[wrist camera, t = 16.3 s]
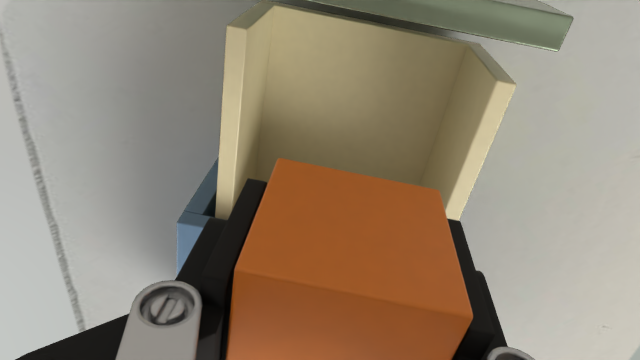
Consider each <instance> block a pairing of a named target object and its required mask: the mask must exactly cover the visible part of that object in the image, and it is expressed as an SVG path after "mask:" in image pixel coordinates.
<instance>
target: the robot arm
mask: <svg viewBox="0 0 640 360" xmlns="http://www.w3.org/2000/svg"><path fill="white" fill-rule="evenodd" d="M266 187H267V182H265V181H260V180H255V179H250V178H248V179H247V181H246V183H245V185H244V187H243V189H242V191H241V193H240V195H239V197H238V199H237V202H236V204H235V206H234V208H233V210H232V212H231V214H230V216H229V218H228V220H223V219H218V218H213V217H211V218H209V219H208V221H207V222H206V224H205V226H204V228H203V230H202V231H201V233H200V235H199V237H198V239H197V241H196V242H195V244H194V246H193V248H192V250H191V252H190V253H189V255H188V257H187V259H186V261H185V263H184V264H183V266H182V268H181V270H180V272H179V274H178V275H177V277H176V279H175V280H169V281H161V282H158V283H154V284H152V285H150V286H148V287H146V288H144V289H143V290H142V291H141V292H140V293H139V294H138V295H137V296H136V298H135V300H134V302H133V303H132V307H131V310H130V313H129V314H127V315H124V316H122V317H119V318H117V319H114V320H112V321H109V322H106V323H104V324H101V325H99V326H96V327H94V328H91V329H89V330H86V331H83V332H81V333H78V334H76V335H74V336H71V337H68V338H66V339H63V340H60V341H58V342H56V343H53V344H50V345H48V346H45V347H43V348H40V349H38V350H35V351H32V352H30V353H27V354H26V355H23V356H21V357H20V358H18V359H16V360H225V359H226V349H227V338H228V328H229V318H230V308H231V298H232V288H233V277H234V269H235V266H236V264H237V261H238V258H239V256H240V253H241V251H242V248H243V246H244V243H245V241H246V238H247V235H248V233H249V230H250V228H251V225H252V223H253V220H254V218H255V215H256V212H257V210H258V207H259V205H260V202H261V200H262V197H263V195H264V192H265V189H266ZM447 220H448V224H449V227H450V231H451V235H452V238H453V242H454V246H455V249H456V253H457V257H458V261H459V264H460V268H461V272H462V275H463V279H464V283H465V287H466V290H467V294H468V298H469V301H470V305H471V309H472V313H473V319H472V321H471V323H470V325H469V327H468V329H467V331H466V333H465V335H464V337H463V339H462V341H461V342H460V344H459V346H458V348H457V350H456V352H455V354H454V356H453V358H452V360H535V359H534V358H532V357H531V356H530V355H528V354H526V353H524V352H522V351H520V350H518V349H515V348H511V347H508V346H507V343H506V340H505V337H504V334H503V331H502V328H501V325H500V322H499V319H498V316H497V313H496V310H495V307H494V304H493V301H492V298H491V295H490V292H489V289H488V286H487V283H486V280H485V277H484V275H483V273H482V272H480V271H476V270H475V267H474V264H473V260H472V257H471V254H470V251H469V247H468V244H467V241H466V238H465V235H464V231H463V228H462V225H461V222H460V221H458V220H453V219H448V218H447Z"/></svg>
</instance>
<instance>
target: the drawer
mask: <svg viewBox="0 0 640 360" xmlns="http://www.w3.org/2000/svg"><path fill="white" fill-rule="evenodd" d="M305 1H310V2H315V3H320V4H325V5H330V6H335V7H340V8H344V9H349V10H354V11H359V12H364V13H369V14H374V15H379V16H384V17H389V18H393V19H398V20H403V21H408V22H413V23H418V24H423V25H428V26H433V27H438V28H442V29H447V30H452V31H457V32H462V33H467V34H472V35H477V36H482V37H487V38H491V39H496V40H501V41H506V42H511V43H516V44H521V45H526V46H531V47H536V48H540V49H545V50H550V51H555V52H557V51H559V49H560V47H561V45H562V43H563V40H564V38H565V36H566V34H567V32H568V30H569V27H570V25H571V23H572V21H573V17H572V16H570V15H568V14H566V13H564V12H562V11H560V10H557V9H555V8H553V7H551V6H549V5H547V4H544V3H542V2H540V1H538V0H305ZM515 88H516V83H515V82H514V81H513V80H512V79H511V77H510V76H509V75H508V74H507V73H506V72H505V71H504V70H503V69H502V68H501V67H500V65H499V64H498V63H497V62H496V61H495V60H494V59H493V58H492V57H491V56H490V54H489V53H488V52H487V51H486V50H485V49H484V48H483V47H482V46H481V45H480V44H479V43H474V42H469V41H464V40H459V39H454V38H449V37H444V36H439V35H434V34H430V33H425V32H420V31H415V30H410V29H405V28H400V27H395V26H390V25H385V24H381V23H376V22H371V21H366V20H361V19H356V18H351V17H346V16H341V15H336V14H332V13H327V12H322V11H317V10H312V9H307V8H302V7H297V6H292V5H287V4H282V3H278V2H273V1H268V0H262V1H260V2H258V3H257V4H256V5H254V6H253V7H251V8H250V9H249V10H247V11H246V12H245V13H243V14H242V15H240V16H239V17H238V18H236V19H235V20H233V21H232V22H231V23H229V24H228V25H227V27H226V44H225V60H224V77H223V94H222V111H221V127H220V144H219V161H218V178H217V194H216V211H215V218H219V219H224V220H228V218H229V216H230V214H231V212H232V210H233V208H234V206H235V204H236V202H237V199H238V197H239V195H240V193H241V191H242V189H243V187H244V185H245V183H246V181H247V179H248V178H250V179H255V180H260V181H265V182H267V184H268V182H269V179H270V177H271V174H272V172H273V169H274V166H275V164H276V161H277V160H278V158H283V159H288V160H293V161H298V162H303V163H308V164H313V165H318V166H323V167H328V168H333V169H337V170H342V171H347V172H352V173H357V174H362V175H367V176H372V177H377V178H382V179H387V180H392V181H397V182H402V183H407V184H412V185H417V186H422V187H426V188H431V189H436V190H439V191H440V194H441V198H442V201H443V205H444V209H445V212H446V216H447V218H448V219H453V220H458V221H459V219H460V217H461V214H462V212H463V209H464V207H465V205H466V202H467V200H468V198H469V195H470V193H471V191H472V188H473V186H474V184H475V181H476V179H477V177H478V174H479V172H480V170H481V167H482V165H483V163H484V160H485V158H486V156H487V153H488V151H489V149H490V146H491V144H492V142H493V139H494V137H495V134H496V132H497V130H498V127H499V125H500V123H501V120H502V118H503V116H504V113H505V111H506V109H507V106H508V104H509V102H510V99H511V97H512V95H513V92H514V90H515Z"/></svg>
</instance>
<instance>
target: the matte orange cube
mask: <svg viewBox="0 0 640 360" xmlns="http://www.w3.org/2000/svg"><path fill="white" fill-rule="evenodd" d="M472 319H473V313H472V309H471V305H470V301H469V298H468V294H467V290H466V287H465V283H464V279H463V275H462V272H461V268H460V264H459V261H458V257H457V253H456V249H455V246H454V242H453V238H452V235H451V231H450V227H449V224H448V220H447V216H446V212H445V209H444V205H443V201H442V198H441V194H440V191H439V190H436V189H431V188H426V187H422V186H417V185H412V184H407V183H402V182H397V181H392V180H387V179H382V178H377V177H372V176H367V175H362V174H357V173H352V172H347V171H342V170H337V169H333V168H328V167H323V166H318V165H313V164H308V163H303V162H298V161H293V160H288V159H283V158H278V160H277V161H276V164H275V166H274V169H273V172H272V174H271V177H270V179H269V182H268V184H267V187H266V189H265V192H264V195H263V197H262V200H261V202H260V205H259V207H258V210H257V212H256V215H255V218H254V220H253V223H252V225H251V228H250V230H249V233H248V235H247V238H246V241H245V243H244V246H243V248H242V251H241V253H240V256H239V258H238V261H237V264H236V266H235V269H234V277H233V288H232V298H231V308H230V318H229V328H228V338H227V349H226V359H225V360H452V358H453V356H454V354H455V352H456V350H457V348H458V346H459V344H460V342H461V341H462V339H463V337H464V335H465V333H466V331H467V329H468V327H469V325H470V323H471V321H472Z"/></svg>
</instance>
